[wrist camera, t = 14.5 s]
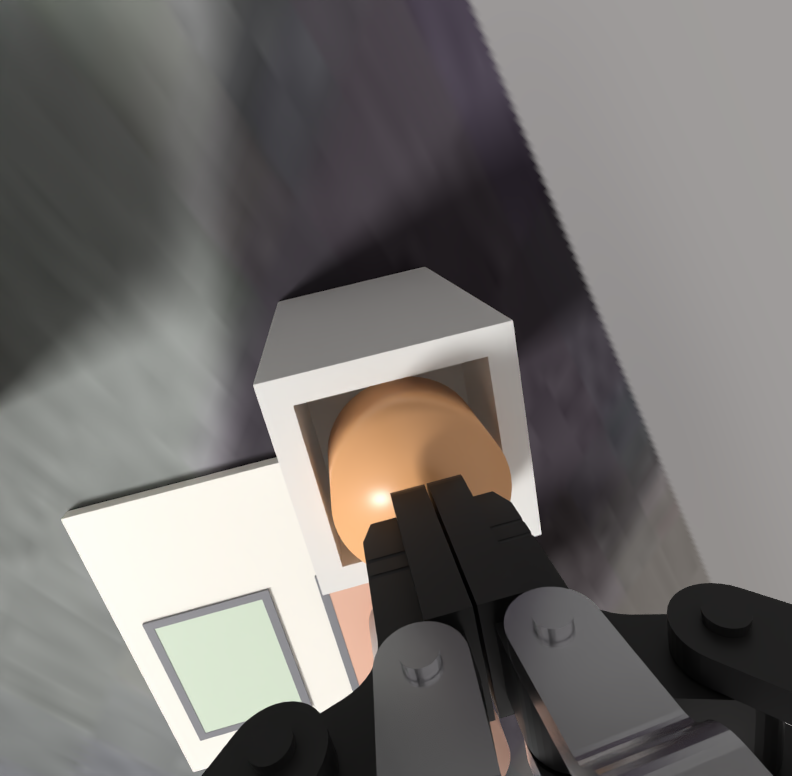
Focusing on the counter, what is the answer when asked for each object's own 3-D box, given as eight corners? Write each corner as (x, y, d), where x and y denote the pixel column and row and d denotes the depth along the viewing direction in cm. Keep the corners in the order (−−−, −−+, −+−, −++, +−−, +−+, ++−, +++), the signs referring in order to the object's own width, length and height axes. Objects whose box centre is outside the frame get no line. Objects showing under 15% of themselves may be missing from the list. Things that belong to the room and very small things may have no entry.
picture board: (67, 511, 23) (59, 521, 22) (495, 400, 24) (500, 406, 23) (195, 760, 28) (193, 774, 28) (535, 660, 30) (540, 671, 29)
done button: (309, 399, 13) (309, 442, 11) (465, 359, 13) (498, 393, 11) (348, 531, 15) (355, 595, 12) (488, 493, 15) (522, 548, 13)
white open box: (278, 301, 21) (253, 384, 12) (424, 266, 21) (512, 320, 12) (317, 435, 23) (322, 595, 14) (450, 401, 24) (541, 534, 14)
